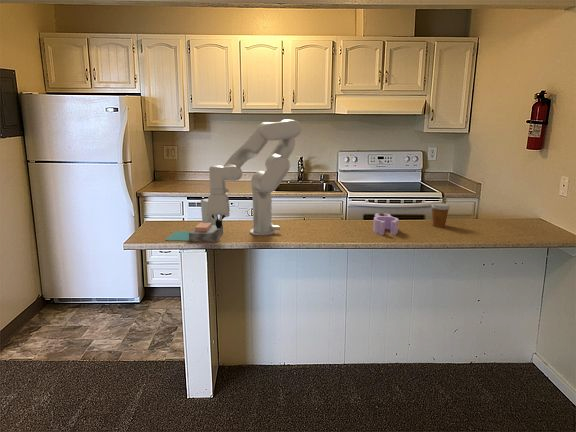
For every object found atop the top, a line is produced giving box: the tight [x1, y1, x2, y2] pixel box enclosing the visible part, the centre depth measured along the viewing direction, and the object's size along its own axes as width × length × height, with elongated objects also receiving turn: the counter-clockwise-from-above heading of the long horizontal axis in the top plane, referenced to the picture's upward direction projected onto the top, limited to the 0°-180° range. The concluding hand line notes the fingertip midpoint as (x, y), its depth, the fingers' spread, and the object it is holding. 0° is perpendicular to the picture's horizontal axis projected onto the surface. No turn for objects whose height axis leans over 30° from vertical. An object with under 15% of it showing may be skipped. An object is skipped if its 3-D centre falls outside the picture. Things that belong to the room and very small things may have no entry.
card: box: [194, 222, 212, 232], centre depth 222 cm, size 6×9×2 cm, turn 176°
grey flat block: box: [188, 224, 224, 243], centre depth 222 cm, size 13×16×4 cm
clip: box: [372, 212, 399, 236], centre depth 235 cm, size 20×12×7 cm, turn 179°
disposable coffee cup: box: [430, 202, 450, 228], centre depth 243 cm, size 10×10×12 cm
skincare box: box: [200, 198, 216, 225], centre depth 241 cm, size 8×6×15 cm
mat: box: [165, 230, 191, 242], centre depth 224 cm, size 11×16×1 cm
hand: (219, 227), depth 221 cm, fingers closed
